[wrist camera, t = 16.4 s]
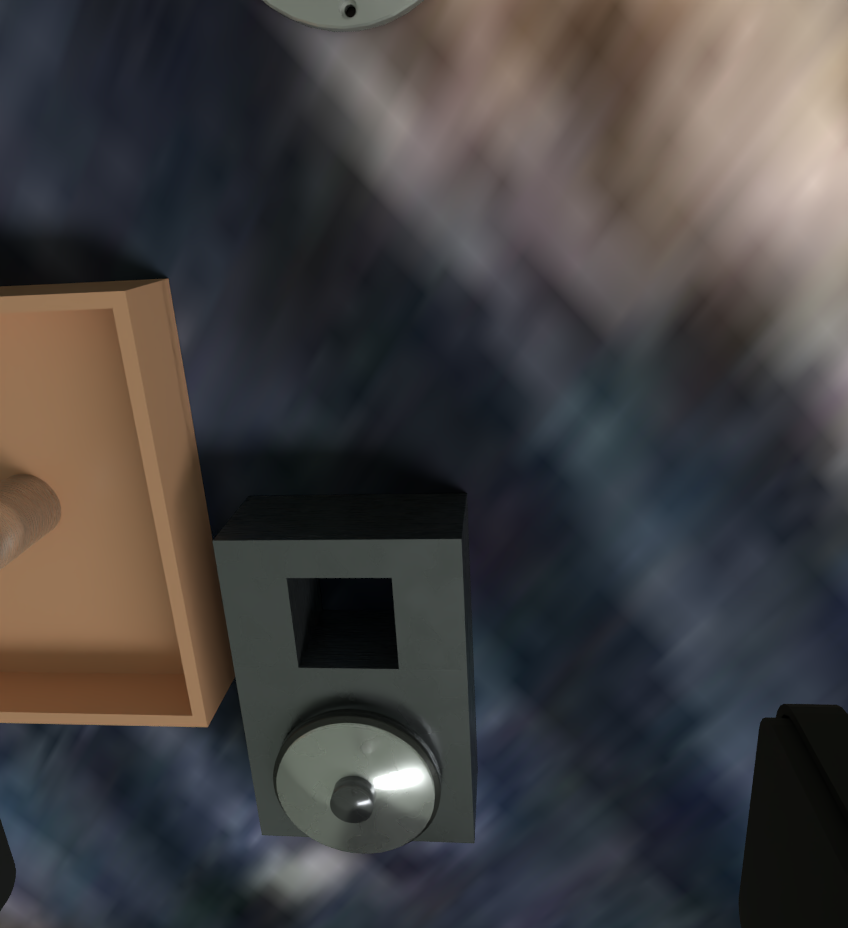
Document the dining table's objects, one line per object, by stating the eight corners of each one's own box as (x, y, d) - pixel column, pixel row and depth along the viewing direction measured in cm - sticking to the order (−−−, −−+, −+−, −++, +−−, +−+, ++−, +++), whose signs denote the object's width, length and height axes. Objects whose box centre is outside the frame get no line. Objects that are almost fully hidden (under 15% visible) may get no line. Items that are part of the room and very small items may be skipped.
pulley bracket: (248, 496, 45) (194, 563, 37) (467, 493, 43) (458, 562, 35) (288, 764, 52) (249, 869, 44) (477, 769, 50) (472, 879, 42)
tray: (-192, 295, 43) (-277, 309, 38) (168, 278, 41) (125, 290, 36) (-67, 671, 52) (-123, 720, 47) (235, 676, 50) (207, 727, 45)
